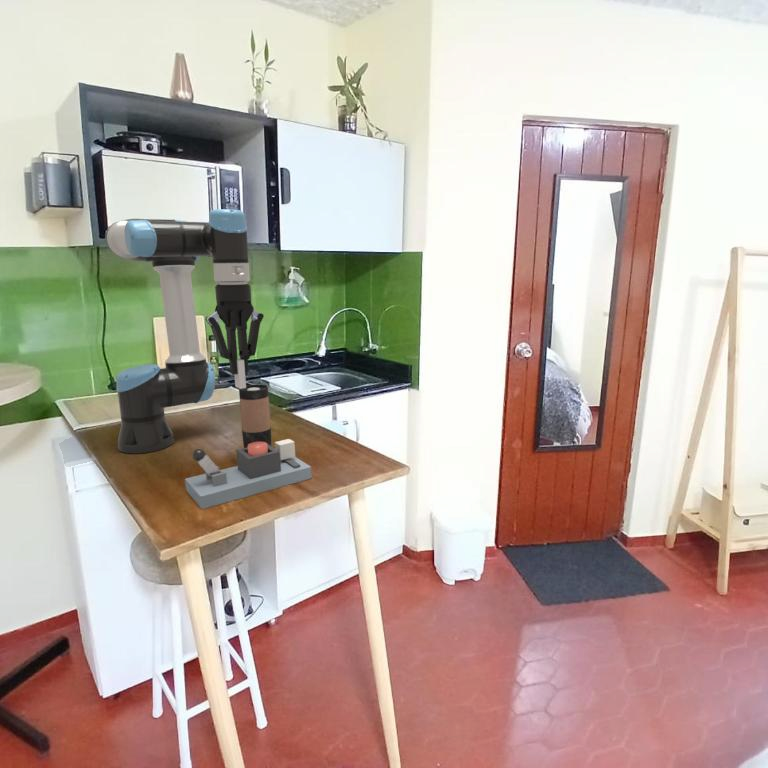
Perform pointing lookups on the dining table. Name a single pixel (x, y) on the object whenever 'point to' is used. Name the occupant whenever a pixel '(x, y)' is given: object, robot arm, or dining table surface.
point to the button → (257, 448)
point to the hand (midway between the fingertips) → (240, 387)
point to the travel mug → (255, 414)
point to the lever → (205, 462)
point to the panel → (247, 478)
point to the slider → (285, 448)
